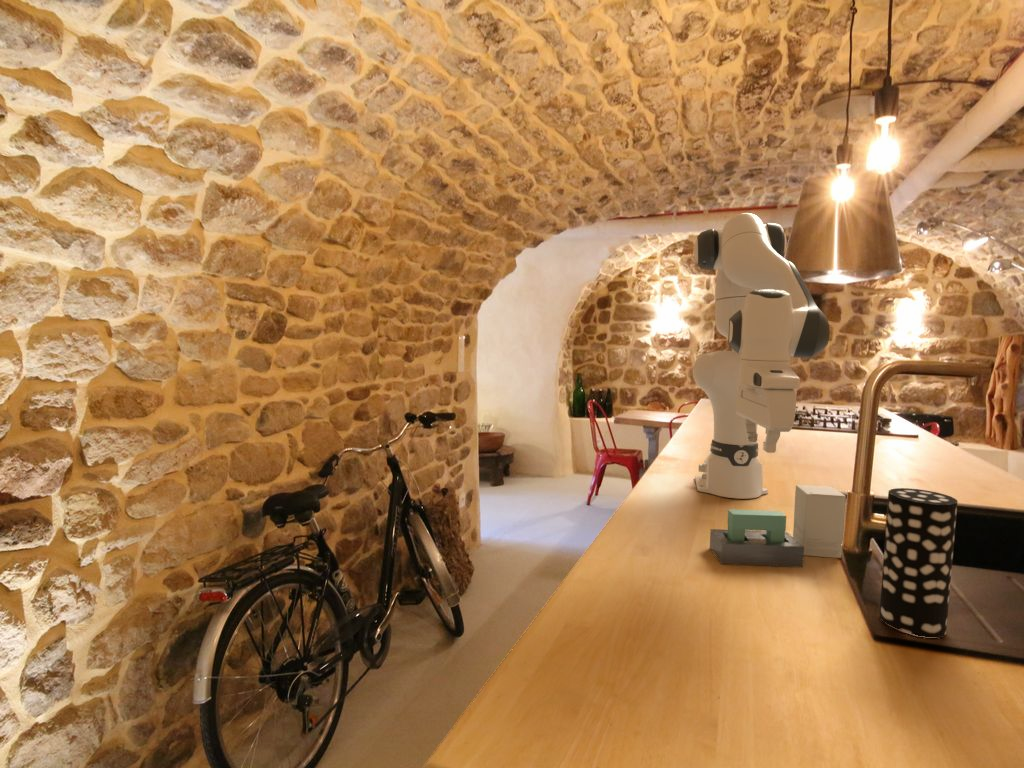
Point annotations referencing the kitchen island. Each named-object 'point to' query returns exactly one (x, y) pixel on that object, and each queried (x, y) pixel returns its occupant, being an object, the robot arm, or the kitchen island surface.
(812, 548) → the supplement box
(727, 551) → the gray socket base
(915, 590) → the white-spotted black cylinder
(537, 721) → the kitchen island surface
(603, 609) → the kitchen island surface
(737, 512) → the green u-shaped block
